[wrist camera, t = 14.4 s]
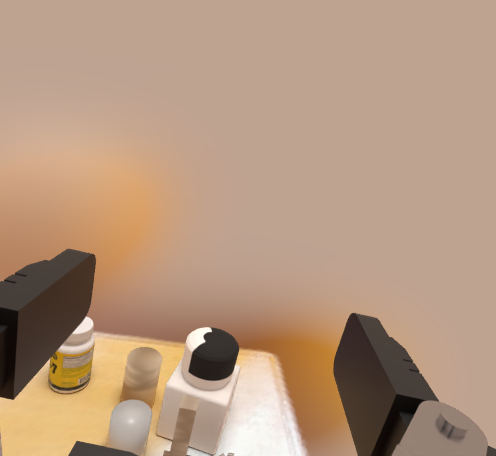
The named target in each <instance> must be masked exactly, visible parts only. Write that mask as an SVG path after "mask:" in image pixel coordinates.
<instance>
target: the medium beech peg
mask: <svg viewBox="0 0 496 456" xmlns="http://www.w3.org/2000/svg"><path fill="white" fill-rule="evenodd" d="M161 362H162V356H161V354H160V353H159V352H158V351H157V350H155V349H153V348H148V347H140V348H136V349H134V350H132V351H131V352H130V353H129V354H128V358H127V364H126V370H125V377H124V383H123V389H122V395H121V402H123V401H126V400H140V401H143V402H145V403H146V404H147V405H148V406H149V407H150V408H152V406H153V404H154V399H155V394H156V388H157V383H158V378H159V373H160V367H161ZM121 402H120V403H121Z"/></svg>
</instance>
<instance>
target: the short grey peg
mask: <svg viewBox="0 0 496 456" xmlns="http://www.w3.org/2000/svg"><path fill="white" fill-rule="evenodd" d="M151 418H152V411H151V408H150V407H149V406H148V405H147V404H146V403H145V402H143V401H140V400H126V401H123V402H121V403H119V404H118V405H117V406H115V408H114V409H113V411H112V414H111V420H110V427H109V433H108V440H107V447H109V448H114V449H119V450H124V451H129V452H132V453H134V454H136V455H138V456H144V454H145V450H146V444H147V439H148V434H149V429H150V423H151Z"/></svg>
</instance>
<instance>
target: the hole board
mask: <svg viewBox="0 0 496 456" xmlns="http://www.w3.org/2000/svg"><path fill="white" fill-rule="evenodd" d="M198 402H199V398H194V397H189V396H185V395H183V397H182V401H181V405H180V408H179V413H178V418H177V422H176V427H175V432H174V436H173V441H172V445H171V450H170V451H164V454H163V456H189V455H186V454H187V450H188V445H189V441H190V437H191V432H192V428H193V424H194V420H195V415H196V411H197V406H198Z"/></svg>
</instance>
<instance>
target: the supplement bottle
mask: <svg viewBox="0 0 496 456" xmlns="http://www.w3.org/2000/svg"><path fill="white" fill-rule="evenodd" d="M92 333H93V321H92V320H91V319H90V318H88V317H85V319H84V320H83V322H82V323H81V324H80V325H79V326H78V327H77V328H76V330H75V331H74V332H73V333H72V334H71V335H70V336H69V337H68V339H67V340H66V341H65V342H64V343H63V344H62V345H61V347H60V348H59V349H58V350H57V351H56V352H55V353H54V354H53V356H52V357H51V360H50V371H49V385H50V387H51V388H52V389H53V390H54V391H56V392H59V393H73V392H76V391H79V390H81V389H83V388H84V387H85V386H86V385H87V384H88V382H89V380H90V376H91V367H92V359H93V351H94V343H95V338H94V335H93V334H92Z"/></svg>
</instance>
